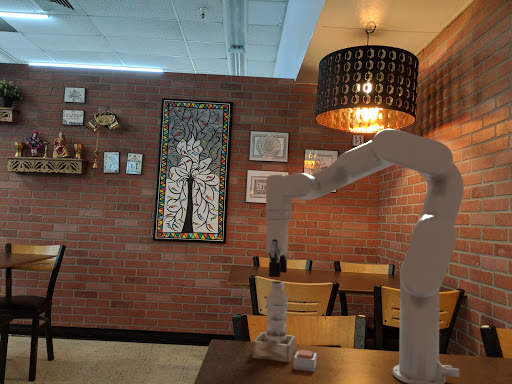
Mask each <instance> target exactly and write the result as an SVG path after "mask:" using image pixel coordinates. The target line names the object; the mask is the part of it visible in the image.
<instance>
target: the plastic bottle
mask: <svg viewBox="0 0 512 384" xmlns="http://www.w3.org/2000/svg"><path fill="white" fill-rule="evenodd" d="M270 284H271V285H270V289H271V291H270V292H269V293H268V294H267V296H266V299H265V304H266V314H267V326H266V333H267V334H266V337H265V342H269V343H278V344H287V343H288V340H287V335H288V334H287V324H286V323H287V311H288V305H289V299H288V296H287V295H286V293H285V291H284V290H285V282H284V281H280V280H277V281H275V280H274V281H271V283H270Z"/></svg>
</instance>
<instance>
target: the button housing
mask: <svg viewBox="0 0 512 384" xmlns="http://www.w3.org/2000/svg"><path fill="white" fill-rule="evenodd" d="M299 351H300V350H297V351H295V352H296V353H294V355H293V356H294V357H293V370H298V371H304V372H305V371H306V372H307V371H308V372H313V373H314V372H315V370H316V366H317V352H313V358H312V359H308V358H300V357H298V353H299Z"/></svg>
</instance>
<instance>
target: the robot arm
mask: <svg viewBox="0 0 512 384" xmlns="http://www.w3.org/2000/svg"><path fill="white" fill-rule="evenodd" d="M453 156H454V155H453V152H452V150H451V149H450V148H449V146H447V145H446V144H445V143H443V142H440V141H437V140H434V139H430V138H428V137H423V136H420V135H416V134H414V133H409V132H407V131H403V130H399V129H396V128H395V129H393V128H385V129H382V130H380V131H378V132H377V133H376V134H375V135H374V136H373V138H372V139H371V140H369V141H368V142H366V143H363V144H361V145H359V146H356V147H354V148H352V149H350V150H347V151H345V152H343V153H342V154H340V155H339V156H338V157H337V159H336V160H335V161H334V162H333V163H331V164H330V165H329V166H327V167H325V168H323V169H321V170H319V171H317V172H314V173H312V174H308V173H304V172H297V173H292V174H272V175H271V174H270V175H268V176H267V177H266V181H265V185H266V186H265V187H266V188H265V221H266V222H267V227H266V241H265V242H266V243H265V245H266V246H265V247H266V248H265V253H266V255H267V256H269V259H268V276H269V277H271V278H280V277H281V273H287V271H288V268H287V266H288V265H287V264H288V261H287V260H288V259H287V257H288V256H287V253H288V251H289V223H288V222H292V199H297V200H303V201H312V200H315V199H319V198H320V197H323V196H325V195H327V194H330V193H332V192H335V191H336V190H339V189H341V188H343V187H345V186H348V185H350V184H352V183H353V182H356V181H358V180H361V179H363V178H365V177H367V176H370V175H372V174H375V173H377V172H380V171H382V170H384V169H386V168H387V169H388V168H390V167H392V166H394V165H395V166H399V167H401V168H406V169H408V170H410V171H411V170H412V171H415V172H418V174H419V175H420V176H421V177H422V178H424V179H425V181H426V183H427V191H426V193H425V194H426V195H425V198H424V202H423V204H422V209H421V210H420V214H419V217H418V220H417V221H416V223H415V225H414V228H413V231H412V234H411V235H412V236H411V238H410V241H409V243H408V247H407V250H406V253H405V254H406V255H405V257H404V260H403V261H402V263H401V266H400V270H399V282H400V285H399V286H400V289H399V292H400V293H399V297H400V298H399V348H398V349H399V353H398V354H399V355H398V358H399V359H398V364H397V365H395V366H393V368H392V374H393V376H394V377H395V378H396V379H397V380H398V381H400V382H403V383H405V384H445V383H446V376H450V377H457V378H460V375H461V373H460V368H455V367H453V366H452V365H447V364H446V365H445V364H442V363H441V361H440V288H441V286H442V284H443V282H444V279H445V276H446V273H447V270H448V268H449V264H450V262H451V259H452V256H453V252H454V249H455V245H456V241H457V231H456V227H455V225H456V223H457V222H456V221H457V218H458V215H459V212H460V209H461V208H460V207H461V204H462V201H463V196H464V191H465V190H464V187H465V186H464V181H463V176H462V174H461V171H460V170H459V168H458V167H457V165H456V164H455V162H454V157H453Z"/></svg>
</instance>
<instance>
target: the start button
mask: <svg viewBox="0 0 512 384" xmlns="http://www.w3.org/2000/svg"><path fill="white" fill-rule="evenodd" d="M298 351H299V353H298V357H300V358H308V359H312V358H313V353H314V351H312V350H303V349H299V350H298Z"/></svg>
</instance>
